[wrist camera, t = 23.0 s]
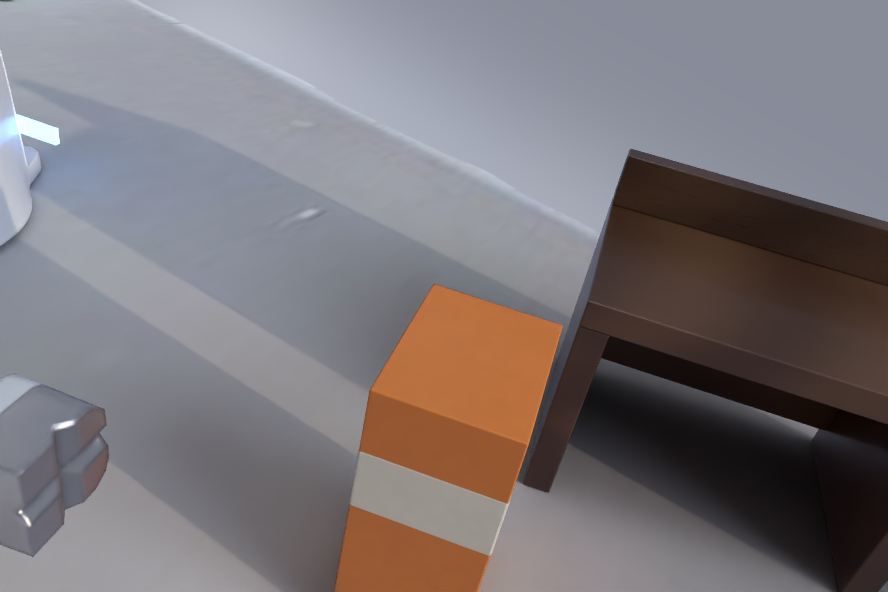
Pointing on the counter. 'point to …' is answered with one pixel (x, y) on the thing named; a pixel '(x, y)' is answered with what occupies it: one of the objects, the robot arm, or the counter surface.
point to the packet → (444, 445)
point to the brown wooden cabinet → (744, 329)
